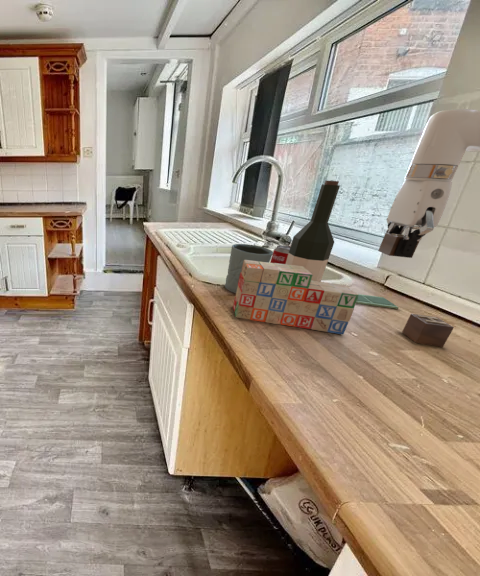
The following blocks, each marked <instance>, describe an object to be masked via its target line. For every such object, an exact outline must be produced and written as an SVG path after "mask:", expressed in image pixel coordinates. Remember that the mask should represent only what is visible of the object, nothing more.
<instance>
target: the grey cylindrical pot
mask: <svg viewBox="0 0 480 576" xmlns="http://www.w3.org/2000/svg"><path fill="white" fill-rule="evenodd" d="M272 254H273V251H272V250H271V249H269V248H267V247H264V246H261V245H260V246H259V245H254V244H248V243H235V244H232V245H231V249H230V256H229V261H228V263H229V264H228V267H227V275H226V278H225V283H224V288H225V289H226V290H228V291H229V292H231V293H234V294H236V292H237V287H238V281H239V277H240V273H241V271H242V267H243V262H244V260H251V261H258V262H268V263H270V262H271V258H272Z"/></svg>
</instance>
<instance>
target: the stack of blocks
mask: <svg viewBox="0 0 480 576" xmlns="http://www.w3.org/2000/svg"><path fill="white" fill-rule="evenodd" d="M312 276H313V275H312V274H311V273H310V272H309V271H308V270H306V269H305V268H304V267H303V266H296V265H287V264H279V263H270V262H269V263H268V262H258V261H251V260H244V262H243V267H242V271H241V273H240V277H239V281H238V287H237V292H236V293H235V295H234V300H233V305H232V308H233V312H234V316H235V318H237V319H244V320H250V321H255V322H262V323H267V324H274V325H281V326H288V327H295V328H300V329H305V330H306V329H307V330H313V331H319V332H325V333H330V334H338V335H344V334H345V333H346V332H345V331H346V330H347V327H348V325H349V322H350V320H351V317H352V315H353V313H354V310H355V308H356V307H355V306H356V304H357V303H356V302H357V299H358V296H359V295H358V294H359V293H357V292H356V291H355V290H353V289H351V288H350V287H349V286H348V285H346V284H340V283H334V282H327V281H321V282H319V281H312V280H311V279H312Z"/></svg>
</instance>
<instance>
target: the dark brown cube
mask: <svg viewBox="0 0 480 576" xmlns="http://www.w3.org/2000/svg"><path fill="white" fill-rule="evenodd" d="M403 237H404V234H403V233H402V234H393V233H392V234H391V233H386V232H385V233H384V236H383V238H382V240H381V243H380V245H379V248H378V252H380V253H382V254H385V255H387V256H390V257H396V256H395V255H394V253H395V250H396V248H397V246H398V243H399V241H400V239H403ZM419 243H420V241H418V243H417V245H416V247H415V249H414V252H413V254H412V256H411V257H406V258H409V259H413V257H414V255H415V252H416V250H417V248H418V245H419ZM397 257H399V256H397ZM399 258H400V257H399Z"/></svg>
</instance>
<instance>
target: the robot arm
mask: <svg viewBox="0 0 480 576" xmlns="http://www.w3.org/2000/svg"><path fill="white" fill-rule="evenodd" d="M466 152H469V153H477V152H480V109H474V108H454V109H446V110H445V109H444V110H441V111H437V112H435V113H433V114H432V115H430V117H429V118H428V120H427V122H426V124H425V127H424V129H423V132H422V134H421V137H420V139H419V142H418V144H417V146H416V148H415V151H414V154H413V156H412V159H411V160H410V163H409V166H408V168H407V171H406V173H405V175H404V178H403V180H404V181H403V183H402V185H401V186H400V188H399V190H398V191H397V193H396V196H395V198H394V199H393V202H392V204H391V207H390V209H389V212H388V215H387V218H386V224H387V225H386V226H387V229H386V232H385V233H391V234H392V233H393V234H403V233H404V234H403V235H404V237H403V239H400V241H399V243H398V246H397V248H396V250H395V253H394V255H395V256H394V257H398V256H399V258H407V257H411V256H412V254H413V252H414V249H415V247H416V245H417V243H418V241H419V242H421V241H422V239H423V237H424V236H426V235H427V234H429V233H431V232H433V231H434V229H435V228H437V226H438V225H439V223H440V221H441V218H442V216H443V215H444V214H443V213H444V212H445V208H446V206H447V204H448V200H449V198H450V194H451V190H452V185H453V182H452V181H453V179H454V177H455V174H456V172H457V170H458V169H459V165H460V163H461V161H462V159H463V157H464V155H465V153H466ZM418 244H419V243H418ZM414 253H415V252H414ZM413 255H414V254H413Z"/></svg>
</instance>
